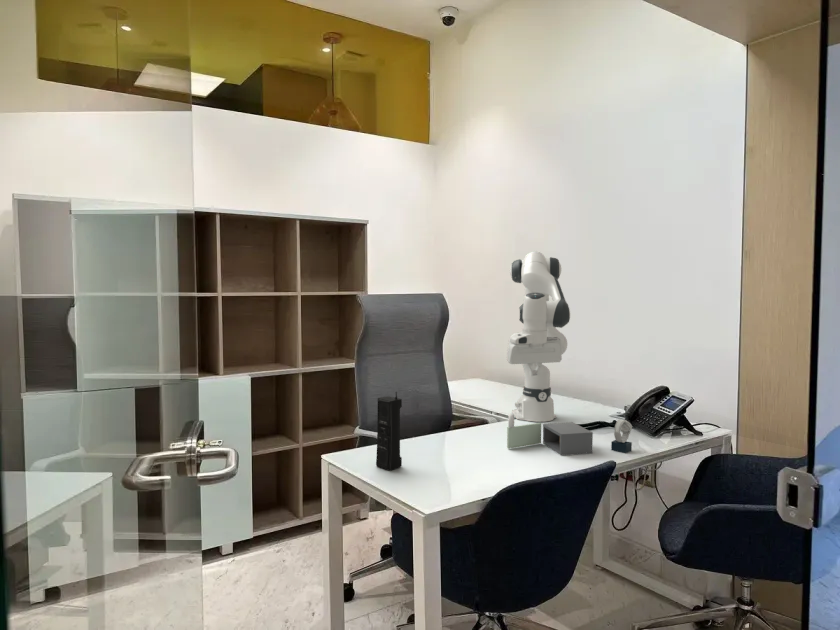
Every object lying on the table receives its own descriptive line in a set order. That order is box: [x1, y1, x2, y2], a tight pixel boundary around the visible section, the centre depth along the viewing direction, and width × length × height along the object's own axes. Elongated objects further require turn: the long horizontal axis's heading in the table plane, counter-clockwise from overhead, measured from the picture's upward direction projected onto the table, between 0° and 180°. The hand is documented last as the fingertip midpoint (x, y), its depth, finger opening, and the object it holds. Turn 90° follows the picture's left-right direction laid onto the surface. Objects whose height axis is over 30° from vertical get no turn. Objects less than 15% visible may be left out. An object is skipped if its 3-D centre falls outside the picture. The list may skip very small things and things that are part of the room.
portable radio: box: [375, 392, 403, 472], centre depth 178 cm, size 8×6×25 cm
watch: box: [610, 419, 633, 454], centre depth 195 cm, size 6×8×11 cm
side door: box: [506, 413, 542, 450], centre depth 200 cm, size 15×2×12 cm, turn 117°
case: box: [542, 421, 594, 456], centre depth 198 cm, size 15×12×8 cm
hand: (534, 375), depth 199 cm, fingers closed
